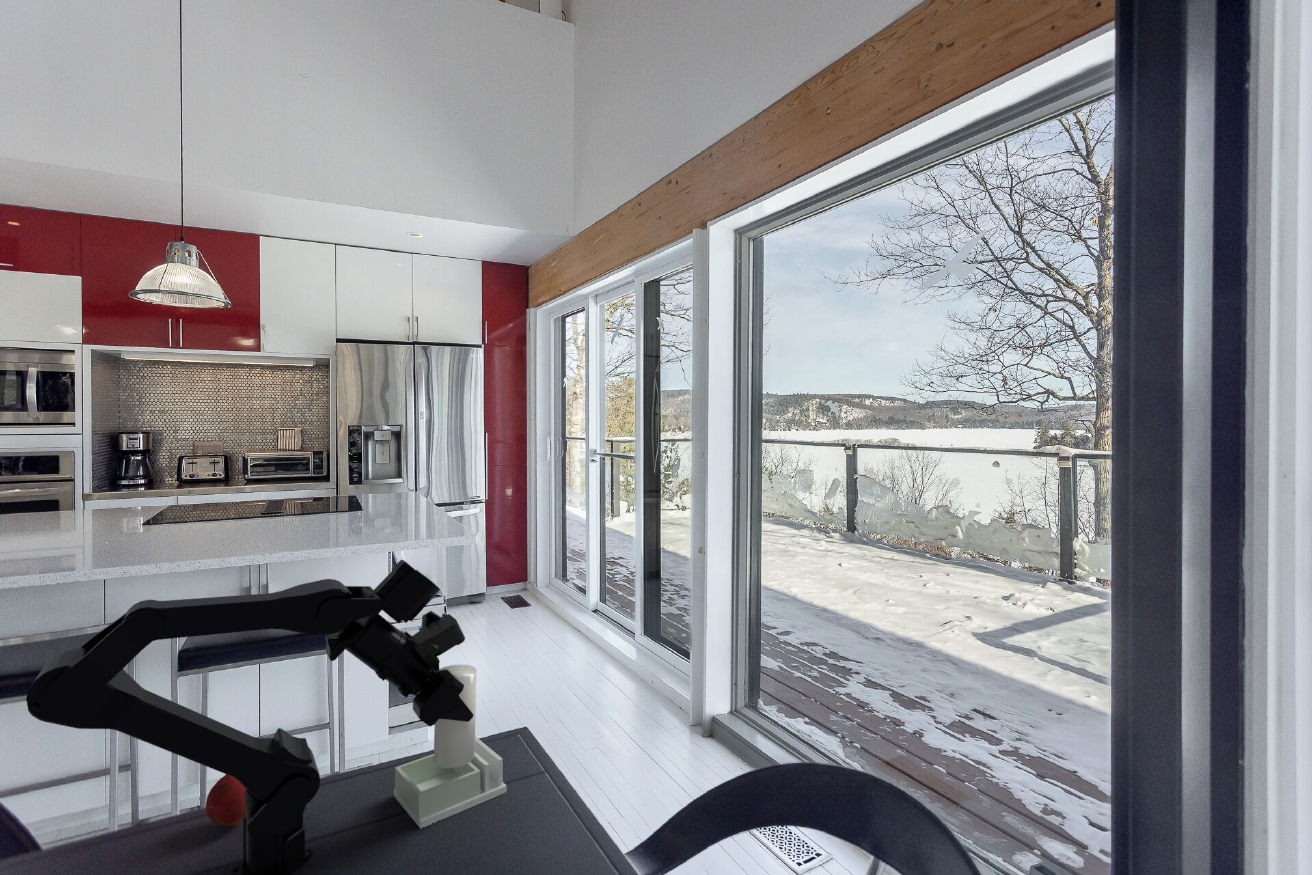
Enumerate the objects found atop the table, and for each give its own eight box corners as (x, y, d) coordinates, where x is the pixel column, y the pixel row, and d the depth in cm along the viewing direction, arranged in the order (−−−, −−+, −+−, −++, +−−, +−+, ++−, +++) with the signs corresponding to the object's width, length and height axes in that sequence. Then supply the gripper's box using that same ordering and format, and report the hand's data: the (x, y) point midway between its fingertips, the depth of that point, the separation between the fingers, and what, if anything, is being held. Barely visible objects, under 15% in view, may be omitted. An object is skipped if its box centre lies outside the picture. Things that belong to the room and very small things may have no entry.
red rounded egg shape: (231, 842, 83) (231, 782, 83) (194, 836, 84) (194, 776, 84) (267, 815, 89) (266, 759, 89) (232, 810, 90) (231, 754, 90)
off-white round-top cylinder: (427, 767, 89) (429, 678, 89) (441, 747, 95) (443, 663, 94) (467, 768, 89) (469, 680, 89) (479, 748, 95) (481, 665, 94)
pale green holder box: (420, 828, 86) (420, 792, 86) (393, 795, 94) (393, 762, 94) (506, 792, 95) (506, 759, 95) (475, 764, 103) (476, 734, 102)
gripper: (449, 618, 81) (528, 685, 88) (411, 586, 97) (481, 645, 103) (382, 692, 77) (470, 757, 84) (354, 646, 92) (430, 704, 99)
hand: (464, 710), depth 92 cm, fingers closed on off-white round-top cylinder, 6 cm apart
